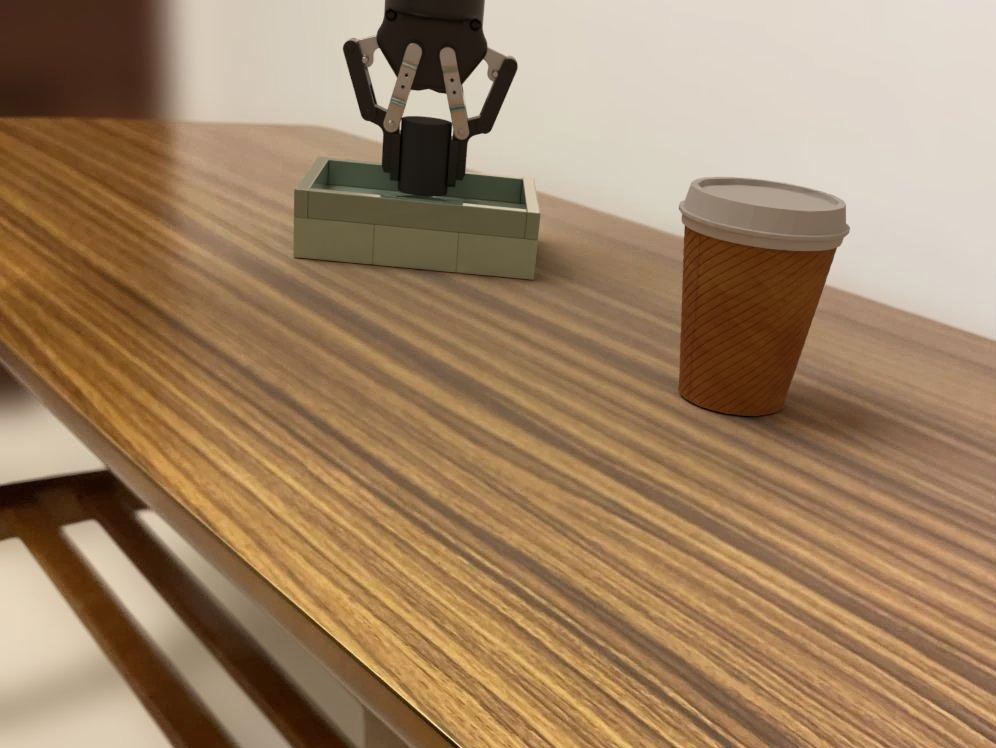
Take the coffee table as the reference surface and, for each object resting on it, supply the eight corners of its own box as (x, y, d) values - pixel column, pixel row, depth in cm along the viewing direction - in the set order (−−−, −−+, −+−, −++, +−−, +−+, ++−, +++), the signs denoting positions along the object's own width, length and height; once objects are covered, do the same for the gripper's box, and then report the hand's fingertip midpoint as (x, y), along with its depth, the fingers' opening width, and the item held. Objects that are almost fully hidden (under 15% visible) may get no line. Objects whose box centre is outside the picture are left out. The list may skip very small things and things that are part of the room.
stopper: (396, 193, 98) (399, 121, 95) (399, 184, 101) (403, 114, 99) (446, 198, 98) (451, 126, 95) (447, 189, 101) (452, 119, 99)
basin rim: (293, 216, 90) (294, 189, 89) (317, 180, 103) (317, 156, 102) (537, 240, 92) (540, 213, 91) (531, 202, 104) (534, 178, 103)
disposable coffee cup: (788, 376, 78) (827, 184, 73) (830, 433, 70) (877, 219, 64) (640, 365, 77) (669, 169, 72) (664, 420, 69) (699, 202, 63)
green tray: (293, 257, 92) (293, 216, 90) (317, 215, 105) (317, 179, 103) (533, 280, 93) (537, 240, 92) (527, 236, 106) (531, 200, 105)
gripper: (336, -64, 88) (329, 182, 95) (535, -40, 89) (512, 201, 96) (347, -65, 94) (339, 165, 102) (531, -43, 96) (510, 183, 103)
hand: (423, 181), depth 99 cm, fingers closed on stopper, 4 cm apart
